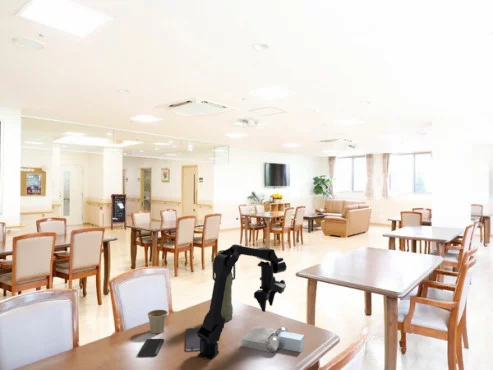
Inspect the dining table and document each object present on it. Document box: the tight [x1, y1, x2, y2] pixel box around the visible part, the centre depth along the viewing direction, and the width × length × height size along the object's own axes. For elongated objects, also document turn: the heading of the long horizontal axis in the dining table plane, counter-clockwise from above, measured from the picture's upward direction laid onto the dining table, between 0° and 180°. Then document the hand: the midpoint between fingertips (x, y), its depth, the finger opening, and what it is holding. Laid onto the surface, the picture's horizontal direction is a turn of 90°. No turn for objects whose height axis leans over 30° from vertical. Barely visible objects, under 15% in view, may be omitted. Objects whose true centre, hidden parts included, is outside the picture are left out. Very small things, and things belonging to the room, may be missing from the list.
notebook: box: [185, 327, 201, 352], centre depth 152 cm, size 13×2×21 cm
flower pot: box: [146, 309, 169, 334], centre depth 161 cm, size 9×9×9 cm
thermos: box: [212, 249, 236, 323], centre depth 177 cm, size 9×12×35 cm
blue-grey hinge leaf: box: [277, 332, 305, 353], centre depth 145 cm, size 11×6×5 cm, turn 65°
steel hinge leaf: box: [240, 325, 289, 353], centre depth 149 cm, size 16×16×5 cm
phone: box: [137, 338, 165, 358], centre depth 144 cm, size 8×1×15 cm
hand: (267, 308), depth 160 cm, fingers open, 9 cm apart
